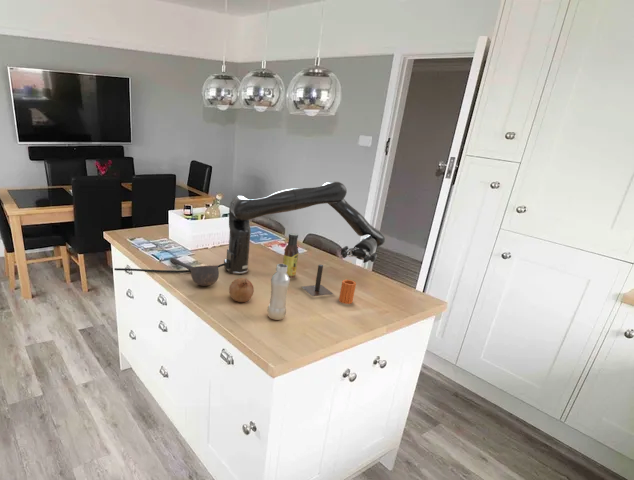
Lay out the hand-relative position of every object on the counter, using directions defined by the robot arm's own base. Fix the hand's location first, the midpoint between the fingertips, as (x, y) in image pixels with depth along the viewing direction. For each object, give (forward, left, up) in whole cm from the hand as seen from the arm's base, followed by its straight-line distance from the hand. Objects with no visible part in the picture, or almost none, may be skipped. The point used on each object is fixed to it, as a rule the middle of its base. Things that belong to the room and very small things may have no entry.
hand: (354, 258), depth 170 cm
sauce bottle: (-18, +21, -15) cm, 31 cm away
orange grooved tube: (-8, -9, -15) cm, 19 cm away
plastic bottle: (-41, -14, -15) cm, 46 cm away
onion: (-48, +3, -15) cm, 50 cm away
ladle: (-60, +33, -15) cm, 70 cm away
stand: (-14, +3, -15) cm, 20 cm away
